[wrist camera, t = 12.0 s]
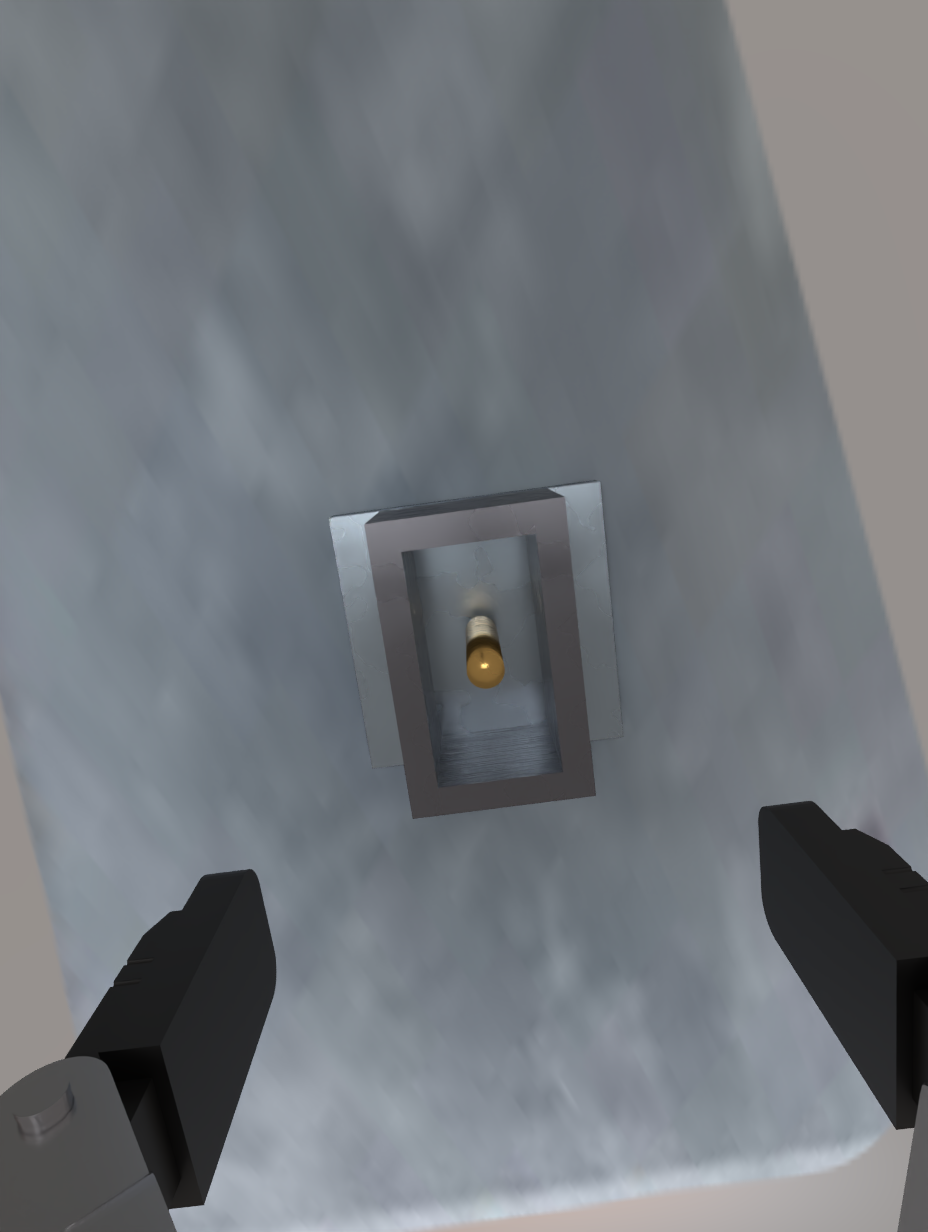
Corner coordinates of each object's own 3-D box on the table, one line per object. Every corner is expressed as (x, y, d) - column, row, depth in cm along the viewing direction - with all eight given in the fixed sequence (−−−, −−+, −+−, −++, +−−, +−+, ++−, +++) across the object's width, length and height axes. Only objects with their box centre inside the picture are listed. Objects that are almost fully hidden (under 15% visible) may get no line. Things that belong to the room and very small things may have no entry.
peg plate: (333, 515, 28) (300, 534, 22) (595, 480, 28) (631, 489, 22) (375, 758, 30) (355, 833, 24) (617, 727, 30) (656, 795, 24)
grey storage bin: (379, 511, 27) (363, 524, 23) (547, 488, 27) (565, 496, 22) (419, 762, 29) (413, 818, 25) (575, 742, 29) (595, 795, 25)
